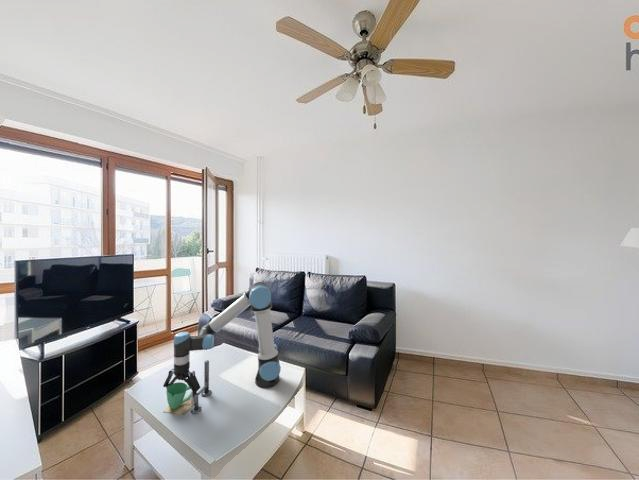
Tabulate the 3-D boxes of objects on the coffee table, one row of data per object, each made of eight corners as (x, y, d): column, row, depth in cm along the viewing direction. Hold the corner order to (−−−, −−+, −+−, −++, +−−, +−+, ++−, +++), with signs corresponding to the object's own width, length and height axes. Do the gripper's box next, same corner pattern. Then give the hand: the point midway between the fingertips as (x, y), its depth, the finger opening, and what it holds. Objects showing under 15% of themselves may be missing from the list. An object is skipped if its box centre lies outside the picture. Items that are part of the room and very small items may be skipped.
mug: (165, 415, 132) (168, 396, 131) (162, 402, 140) (165, 385, 139) (196, 406, 141) (199, 388, 141) (192, 395, 149) (194, 378, 148)
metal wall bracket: (217, 391, 153) (218, 360, 152) (197, 414, 134) (197, 378, 133) (204, 390, 154) (205, 358, 153) (183, 412, 135) (183, 376, 134)
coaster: (198, 400, 145) (198, 399, 145) (184, 415, 133) (184, 414, 133) (179, 397, 147) (179, 396, 147) (163, 412, 135) (163, 411, 135)
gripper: (207, 360, 141) (207, 399, 142) (166, 356, 145) (166, 393, 146) (198, 368, 134) (198, 408, 134) (155, 363, 137) (155, 402, 138)
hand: (181, 401), depth 140 cm, fingers open, 13 cm apart
